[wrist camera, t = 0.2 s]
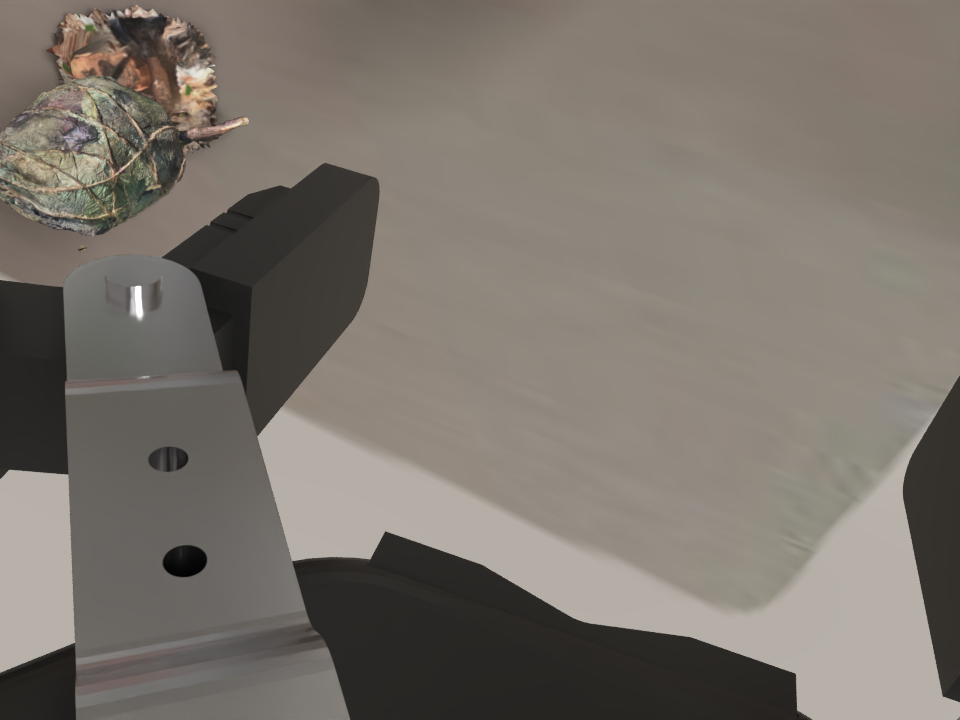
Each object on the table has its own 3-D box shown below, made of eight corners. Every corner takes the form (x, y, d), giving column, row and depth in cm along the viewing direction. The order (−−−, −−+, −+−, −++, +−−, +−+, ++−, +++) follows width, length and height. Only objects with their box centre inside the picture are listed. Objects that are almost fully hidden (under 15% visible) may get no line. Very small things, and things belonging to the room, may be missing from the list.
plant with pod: (247, 205, 47) (-32, 413, 31) (56, 115, 47) (-322, 272, 31) (280, 60, 43) (-27, 212, 26) (68, -39, 43) (-367, 49, 26)
